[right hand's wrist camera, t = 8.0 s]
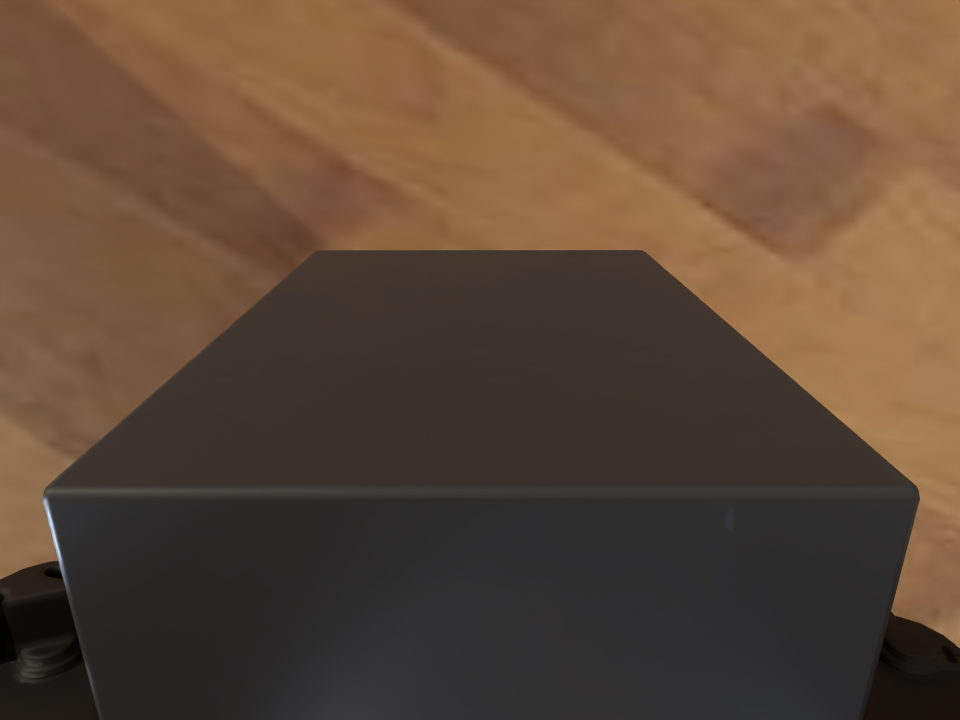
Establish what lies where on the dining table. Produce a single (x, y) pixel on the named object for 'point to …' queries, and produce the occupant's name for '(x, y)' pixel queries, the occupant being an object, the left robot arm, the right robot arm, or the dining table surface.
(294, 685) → the charcoal box
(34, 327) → the dining table surface
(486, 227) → the dining table surface
